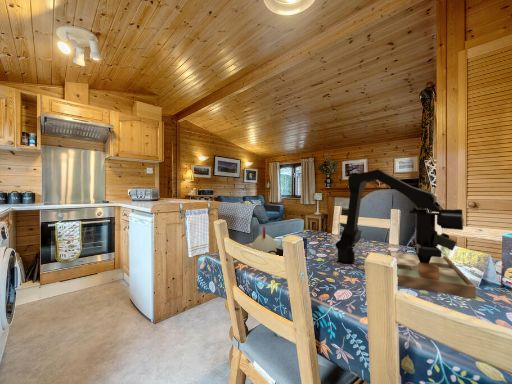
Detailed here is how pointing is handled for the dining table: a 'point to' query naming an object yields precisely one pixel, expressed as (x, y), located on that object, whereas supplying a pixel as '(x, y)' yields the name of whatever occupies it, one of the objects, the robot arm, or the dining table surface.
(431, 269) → the block
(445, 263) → the wooden tray
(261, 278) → the dining table surface
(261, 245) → the beige cone with rod
